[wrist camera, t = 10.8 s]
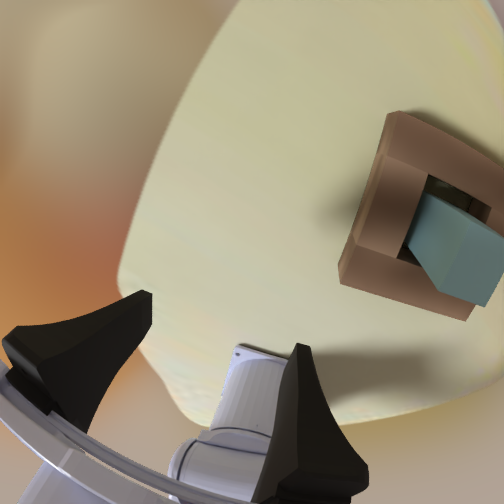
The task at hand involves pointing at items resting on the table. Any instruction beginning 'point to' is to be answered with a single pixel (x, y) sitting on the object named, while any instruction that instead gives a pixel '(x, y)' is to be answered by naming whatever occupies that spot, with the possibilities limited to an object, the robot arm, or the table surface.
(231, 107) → the table surface
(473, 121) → the table surface
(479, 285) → the bracket post
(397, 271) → the well block
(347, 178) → the table surface
